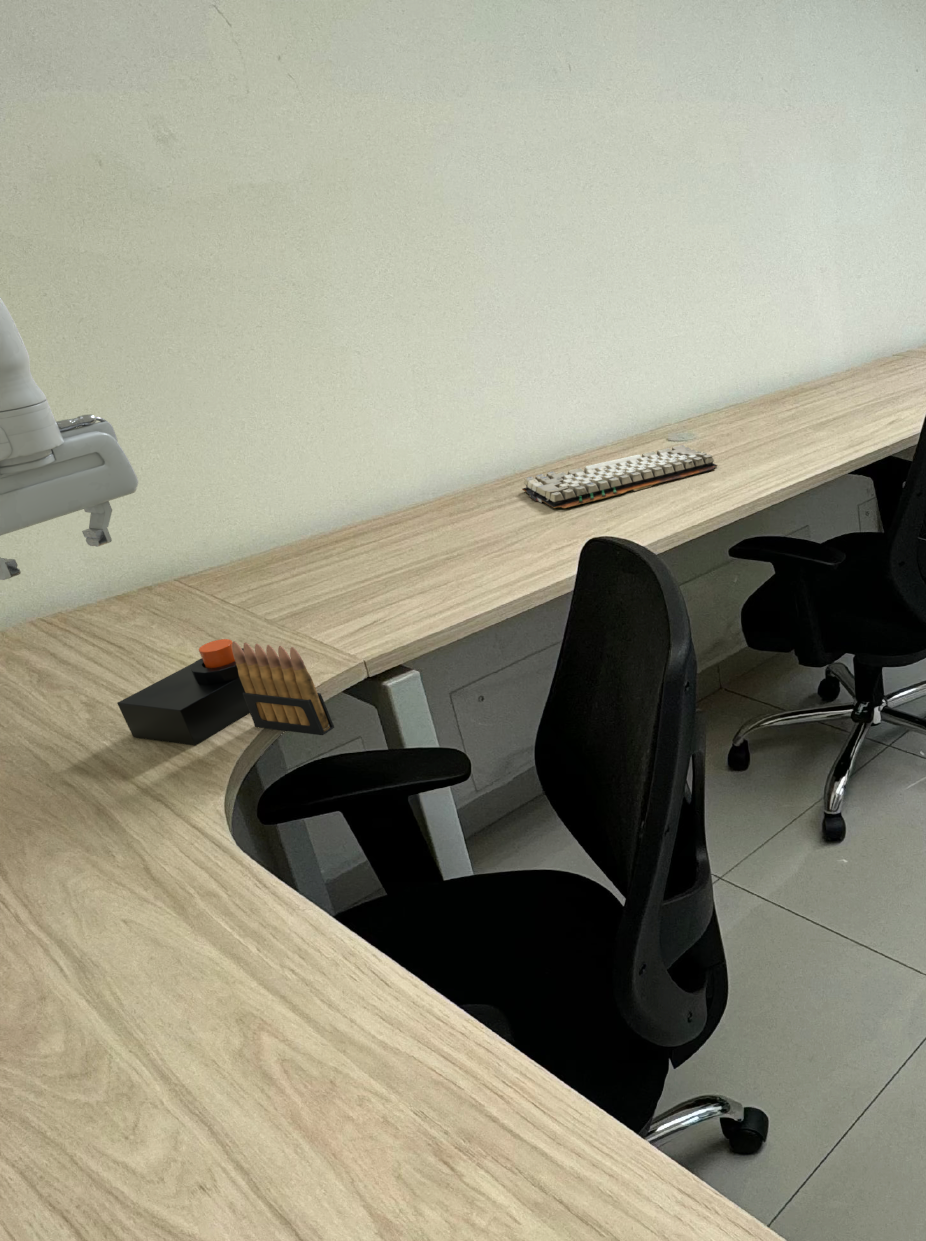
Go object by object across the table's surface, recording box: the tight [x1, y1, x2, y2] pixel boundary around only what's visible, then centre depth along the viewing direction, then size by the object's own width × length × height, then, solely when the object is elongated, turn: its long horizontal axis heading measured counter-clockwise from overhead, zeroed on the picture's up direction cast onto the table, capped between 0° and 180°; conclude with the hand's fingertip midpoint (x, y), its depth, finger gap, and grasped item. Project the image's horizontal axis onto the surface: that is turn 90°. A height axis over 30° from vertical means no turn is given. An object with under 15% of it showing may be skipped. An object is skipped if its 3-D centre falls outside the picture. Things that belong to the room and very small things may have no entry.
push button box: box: [116, 647, 250, 747], centre depth 127 cm, size 10×12×7 cm
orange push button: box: [198, 638, 235, 668], centre depth 127 cm, size 4×4×3 cm
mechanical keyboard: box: [521, 444, 718, 509], centre depth 212 cm, size 38×19×3 cm, turn 133°
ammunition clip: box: [232, 641, 335, 736], centre depth 122 cm, size 11×2×12 cm, turn 76°
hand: (56, 560), depth 106 cm, fingers open, 8 cm apart
